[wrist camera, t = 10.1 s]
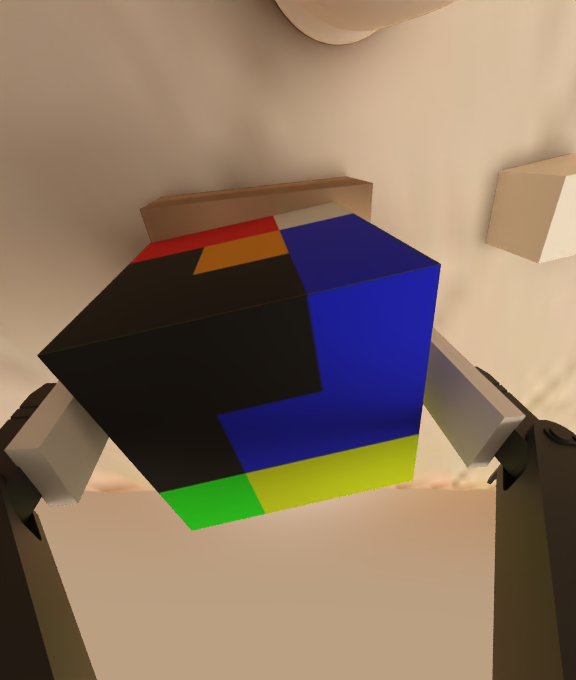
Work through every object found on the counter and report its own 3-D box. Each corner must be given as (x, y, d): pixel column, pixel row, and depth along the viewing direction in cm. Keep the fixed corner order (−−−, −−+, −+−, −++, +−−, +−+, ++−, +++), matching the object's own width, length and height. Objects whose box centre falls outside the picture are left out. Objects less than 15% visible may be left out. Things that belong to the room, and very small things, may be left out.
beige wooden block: (498, 170, 20) (566, 176, 16) (569, 153, 20) (656, 154, 15) (484, 242, 22) (538, 263, 18) (546, 227, 22) (614, 245, 18)
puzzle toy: (333, 201, 15) (441, 263, 7) (346, 349, 21) (412, 480, 13) (150, 243, 15) (36, 355, 7) (212, 379, 21) (191, 530, 13)
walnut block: (163, 196, 18) (139, 209, 14) (345, 176, 19) (373, 183, 15) (208, 346, 25) (201, 385, 21) (341, 328, 26) (359, 361, 22)
